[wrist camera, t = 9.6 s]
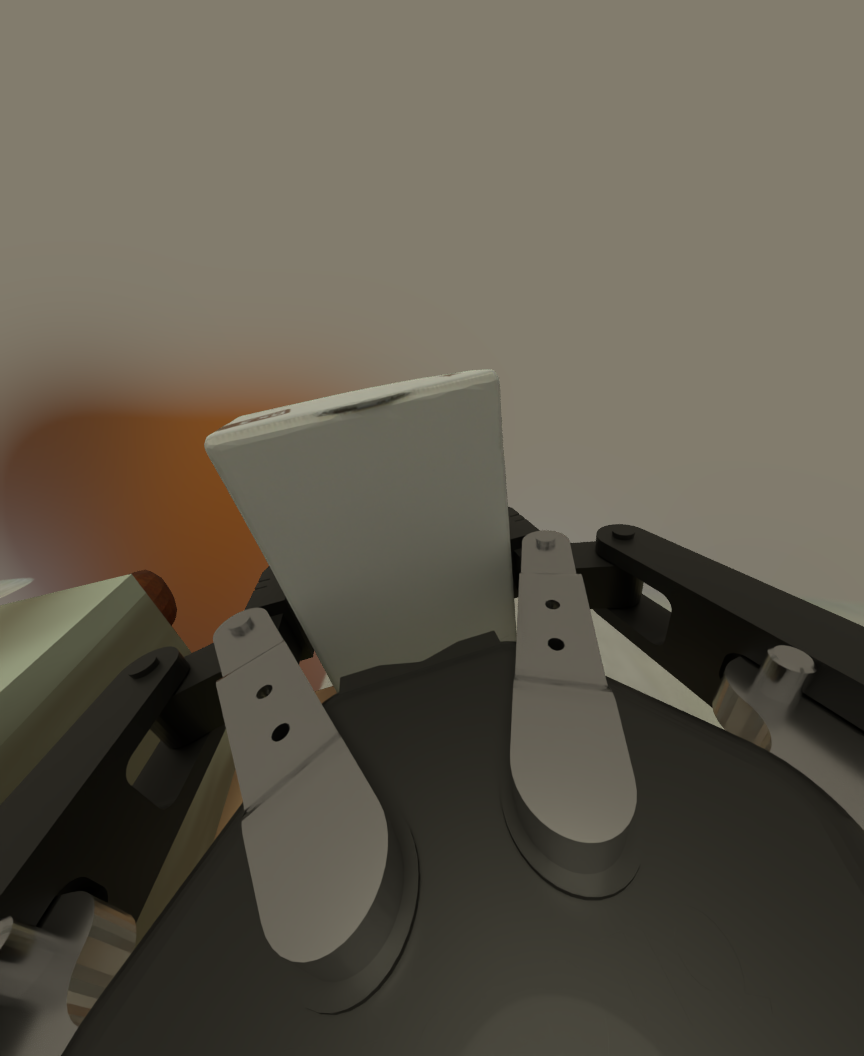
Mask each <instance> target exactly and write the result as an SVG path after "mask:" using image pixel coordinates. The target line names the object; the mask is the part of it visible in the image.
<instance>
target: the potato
mask: <svg viewBox="0 0 864 1056" xmlns="http://www.w3.org/2000/svg"><path fill="white" fill-rule="evenodd" d="M131 574H132V575H133V576H134V578H135V579H136V580H137V582H138V583H139V584H140V586H141V587H142V588H143V590H144V591H145V592H146V593H147V595H148V596H149V597H150V599H151V600H152V601H153V603H154V604H155V605H156V607H157V608H158V609H159V611H160V612H161V613H162V614H163V616H164V617H165V618H166V620H167V621H168V622H169V624H170V625H171V626H172V624H173V622H174V620H175V618H176V612H177V608H176V603H175V600H174V597H173V595H172V593H171V591H170V589H169V588H168V586H167V585H166V583H165V582H164V580H163V579H162V578H161V577H159V576H158V575H156V574H154V573H153V572H151V571H147V570H142V571H138V572H134V573H131ZM128 575H129V574H128Z"/></svg>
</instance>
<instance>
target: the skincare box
mask: <svg viewBox="0 0 864 1056" xmlns="http://www.w3.org/2000/svg"><path fill="white" fill-rule="evenodd" d="M502 438H503V436H502V418H501V403H500V384H499V378H498V376H497V374H496V372H495V371H493V370H471V371H466V372H460V373H454V374H446V375H440V376H433V377H428V378H420V379H414V380H409V381H404V382H398V383H393V384H388V385H382V386H378V387H372V388H367V389H362V390H357V391H352V392H348V393H342V394H338V395H333V396H329V397H324V398H320V399H315V400H311V401H306V402H302V403H297V404H293V405H289V406H284V407H280V408H275V409H271V410H266V411H262V412H258V413H253V414H249V415H244V416H240V417H238V418H236V419H235V420H234V421H232V422H231V423H229V424H227V425H225V426H223V427H222V428H220V429H218V430H217V431H216V432H214V433H212V434H211V435H209V436H207V438H206V441H205V444H204V446H205V450H206V452H207V454H208V456H209V458H210V460H211V461H212V463H213V465H214V466H215V468H216V470H217V472H218V474H219V475H220V477H221V479H222V481H223V482H224V484H225V486H226V488H227V490H228V491H229V493H230V495H231V497H232V499H233V500H234V502H235V504H236V506H237V508H238V509H239V511H240V513H241V514H242V517H243V518H244V520H245V522H246V524H247V526H248V528H249V529H250V531H251V533H252V535H253V537H254V538H255V540H256V542H257V544H258V545H259V547H260V549H261V551H262V553H263V555H264V557H265V558H266V560H267V562H268V564H269V566H270V568H271V570H272V572H273V574H274V575H275V577H276V579H277V581H278V583H279V585H280V587H281V589H282V590H283V592H284V594H285V596H286V598H287V600H288V602H289V604H290V606H291V607H292V609H293V611H294V613H295V615H296V617H297V619H298V621H299V622H300V624H301V626H302V628H303V630H304V632H305V634H306V635H307V637H308V639H309V641H310V643H311V645H312V647H313V649H314V651H315V652H316V654H317V656H318V658H319V660H320V662H321V663H322V666H323V668H324V669H325V671H326V673H327V675H328V677H329V679H330V681H331V682H332V684H333V686H334V688H335V690H336V692H337V693H338V692H339V688H340V677H343V676H346V675H349V674H353V673H356V672H359V671H362V670H366V669H369V668H372V667H376V666H379V665H389V664H400V663H412V662H420V661H423V660H425V659H427V658H429V657H431V656H433V655H434V654H436V653H438V652H440V651H442V650H443V649H445V648H447V647H449V646H450V645H452V644H454V643H456V642H458V641H461V640H464V639H467V638H470V637H474V636H477V635H480V634H483V633H487V632H490V631H493V630H494V631H495V633H496V635H497V636H498V638H499V640H500V641H516V642H517V633H516V621H515V605H514V590H513V575H512V559H511V545H510V530H509V516H508V502H507V489H506V476H505V475H506V474H505V461H504V451H503V439H502Z"/></svg>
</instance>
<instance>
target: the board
mask: <svg viewBox="0 0 864 1056" xmlns="http://www.w3.org/2000/svg"><path fill="white" fill-rule="evenodd" d="M169 646H172V647H175V648H177V649H178V650H179V652H180V653H181V654H182V656H183V657H185V656H187V655H189V654H191V652H190V650H189V649H188V647H187V646H186V645H185V643H184V642H183V641H182V640H181V638H180V637H179V636H178V634H177V633H176V632H175V630H174V629H173V628H172V626H171V625H170V624H169V622H168V621H167V620H166V618H165V617H164V616H163V614H162V613H161V612H160V611H159V609H158V608H157V607H156V605H155V604H154V603H153V601H152V600H151V599H150V597H149V596H148V595H147V593H146V592H145V591H144V590H143V588H142V587H141V586H140V584H139V583H138V582H137V580H136V579H135V578H134V576H133V575H132V574H129V575H125V576H121V577H117V578H113V579H109V580H104V581H100V582H97V583H92V584H88V585H84V586H80V587H75V588H71V589H67V590H63V591H59V592H55V593H50V594H47V595H42V596H38V597H34V598H30V599H26V600H21V601H17V602H13V603H9V604H5V605H1V606H0V805H1V804H2V803H3V802H4V801H5V799H6V798H7V797H8V796H9V795H10V794H11V793H12V792H13V791H14V789H15V788H16V787H17V786H18V785H19V784H20V783H21V782H22V781H23V779H24V778H25V777H26V776H27V775H28V774H29V773H30V772H31V771H32V769H33V768H34V767H35V766H36V765H37V764H38V763H39V762H40V761H41V760H42V758H43V757H44V756H45V755H46V754H47V753H48V752H49V751H50V750H51V748H52V747H53V746H54V745H55V744H56V743H57V742H58V741H59V740H60V738H61V737H62V736H63V735H64V734H65V733H66V732H67V731H68V730H69V728H70V727H71V726H72V725H73V724H74V723H75V722H76V721H77V720H78V718H79V717H80V716H81V715H82V714H83V713H84V712H85V711H86V710H87V709H88V707H89V706H90V705H91V704H92V703H93V702H94V701H95V700H96V699H97V697H98V696H99V695H100V694H101V693H102V692H103V691H104V690H105V689H106V687H107V686H108V685H109V684H110V683H111V682H112V681H113V680H114V679H115V677H116V676H117V675H118V674H119V673H120V672H121V671H122V670H123V669H125V668H126V667H127V666H128V665H129V664H131V663H132V662H134V661H135V660H137V659H138V658H140V657H141V656H143V655H145V654H147V653H149V652H151V651H154V650H156V649H159V648H163V647H169ZM336 693H337V692H336V690H335V688H334V686H331V687H328V688H325V689H322V690H318V691H315V694H316V695H317V697H318V699H319V701H320V702H321V704H322V703H323V702H324V701H325V700H327V699H328V698H330V697H331V696H333V695H334V694H336ZM159 742H160V739H159V738H158V737H157V736H156V735H155V734H154V733H153V732H152V731H151V730H150V729H149V731H148V732H147V734H146V735H145V737H144V738H143V740H142V741H141V743H140V744H139V745H138V747H137V748H136V750H135V751H134V753H133V754H132V756H131V758H130V760H129V762H128V765H127V769H126V778H127V781H128V783H129V784H130V785H131V786H132V785H133V784H134V782H135V780H136V779H137V777H138V776H139V774H140V772H141V771H142V769H143V768H144V766H145V764H146V763H147V761H148V760H149V758H150V756H151V755H152V753H153V752H154V750H155V748H156V747H157V745H158V744H159ZM242 802H243V800H242V795H241V791H240V787H239V782H238V778H237V773H236V769H235V765H234V760H233V756H232V752H231V747H230V743H229V739H228V734H227V730H225V732H224V734H223V736H222V738H221V741H220V743H219V745H218V747H217V749H216V751H215V754H214V756H213V758H212V760H211V762H210V764H209V766H208V769H207V771H206V773H205V775H204V777H203V779H202V782H201V784H200V786H199V788H198V790H197V792H196V795H195V797H194V799H193V801H192V803H191V805H190V808H189V810H188V812H187V814H186V816H185V818H184V821H183V823H182V825H181V827H180V829H179V831H178V834H177V836H176V838H175V840H174V842H173V844H172V847H171V849H170V851H169V853H168V855H167V857H166V860H165V862H164V864H163V866H162V868H161V870H160V873H159V875H158V877H157V879H156V881H155V883H154V886H153V888H152V890H151V892H150V894H149V896H148V899H147V901H146V903H145V905H144V907H143V909H142V911H141V914H140V916H139V918H138V920H137V922H136V932H137V934H136V942H135V947H134V949H135V948H136V946H137V945H138V943H139V942H140V941H141V939H142V938H143V937H144V935H145V934H146V933H147V931H148V930H149V929H150V927H151V926H152V924H153V923H154V922H155V920H156V919H157V918H158V916H159V915H160V914H161V912H162V911H163V910H164V908H165V907H166V905H167V904H168V903H169V901H170V900H171V899H172V897H173V896H174V895H175V893H176V892H177V891H178V889H179V888H180V886H181V885H182V884H183V882H184V881H185V880H186V878H187V877H188V876H189V874H190V873H191V872H192V870H193V869H194V867H195V866H196V865H197V863H198V862H199V861H200V859H201V858H202V857H203V855H204V854H205V853H206V851H207V850H208V848H209V847H210V846H211V844H212V843H213V842H214V840H215V839H216V838H217V836H218V835H219V834H220V832H221V831H222V829H223V828H224V827H225V825H226V824H227V823H228V821H229V820H230V819H231V817H232V816H233V815H234V813H235V812H236V810H237V809H238V808H239V806H240V805H241V804H242Z"/></svg>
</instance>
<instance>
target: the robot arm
mask: <svg viewBox="0 0 864 1056" xmlns="http://www.w3.org/2000/svg"><path fill="white" fill-rule="evenodd" d="M508 516H509V530H510V545H511V559H512V575H513V590H514V598H517V597H518V618H517V642H516V641H500V640H499V638H498V636H497V635H496V633H495V631H494V630H493V631H490V632H487V633H483V634H480V635H477V636H474V637H470V638H467V639H464V640H461V641H458V642H456V643H454V644H452V645H450V646H449V647H447V648H445V649H443V650H442V651H440V652H438V653H436V654H434V655H433V656H431V657H429V658H427V659H425V660H423V661H420V662H412V663H400V664H389V665H379V666H376V667H372V668H369V669H366V670H362V671H359V672H356V673H353V674H349V675H346V676H343V677H340V688H339V692H338V693H336V694H334V695H333V696H331V697H330V698H328V699H327V700H325V701H324V702H323V703H322V704H321V702H320V701H319V699H318V697H317V695H316V694H315V692H314V690H313V689H312V687H311V685H310V683H309V682H308V680H307V678H306V677H305V675H304V673H303V671H302V670H301V668H300V666H299V662H300V661H301V660H305V659H308V658H311V657H313V654H314V649H313V647H312V645H311V643H310V641H309V639H308V637H307V635H306V634H305V632H304V630H303V628H302V626H301V624H300V622H299V621H298V619H297V617H296V615H295V613H294V611H293V609H292V607H291V606H290V604H289V602H288V600H287V598H286V596H285V594H284V592H283V590H282V589H281V587H280V585H279V583H278V581H277V579H276V577H275V575H274V574H273V572H272V570H271V568H270V566H269V567H268V568H267V569H266V570H265V571H264V572H263V573H262V575H261V577H260V579H259V583H258V584H257V585H256V587H255V591H254V592H253V594H252V596H251V598H250V600H249V602H248V604H247V606H246V608H245V610H244V611H242V612H240V613H237V614H236V615H234V616H232V617H230V618H229V619H227V620H226V621H225V622H224V623H223V624H221V625H220V627H219V628H218V629H217V630H216V632H215V633H214V636H213V642H214V643H212V644H210V645H208V646H206V647H205V648H202V649H200V650H198V651H196V652H193V653H191V654H189V655H187V656H185V657H183V656H182V654H181V653H180V652H179V650H178V649H177V648H175V647H172V646H169V647H163V648H159V649H156V650H154V651H151V652H149V653H147V654H145V655H143V656H141V657H140V658H138V659H137V660H135V661H134V662H132V663H131V664H129V665H128V666H127V667H126V668H125V669H123V670H122V671H121V672H120V673H119V674H118V675H117V676H116V677H115V679H114V680H113V681H112V682H111V683H110V684H109V685H108V686H107V687H106V689H105V690H104V691H103V692H102V693H101V694H100V695H99V696H98V697H97V699H96V700H95V701H94V702H93V703H92V704H91V705H90V706H89V707H88V709H87V710H86V711H85V712H84V713H83V714H82V715H81V716H80V717H79V718H78V720H77V721H76V722H75V723H74V724H73V725H72V726H71V727H70V728H69V730H68V731H67V732H66V733H65V734H64V735H63V736H62V737H61V738H60V740H59V741H58V742H57V743H56V744H55V745H54V746H53V747H52V748H51V750H50V751H49V752H48V753H47V754H46V755H45V756H44V757H43V758H42V760H41V761H40V762H39V763H38V764H37V765H36V766H35V767H34V768H33V769H32V771H31V772H30V773H29V774H28V775H27V776H26V777H25V778H24V779H23V781H22V782H21V783H20V784H19V785H18V786H17V787H16V788H15V789H14V791H13V792H12V793H11V794H10V795H9V796H8V797H7V798H6V799H5V801H4V802H3V803H2V804H1V805H0V1056H864V627H863V626H861V625H859V624H856V623H854V622H852V621H850V620H847V619H845V618H843V617H841V616H838V615H836V614H834V613H832V612H829V611H827V610H825V609H822V608H820V607H818V606H816V605H813V604H811V603H809V602H807V601H804V600H802V599H800V598H797V597H795V596H793V595H791V594H788V593H786V592H784V591H782V590H779V589H777V588H775V587H772V586H770V585H768V584H766V583H763V582H761V581H759V580H757V579H754V578H752V577H750V576H748V575H745V574H743V573H741V572H738V571H736V570H734V569H731V568H729V567H727V566H725V565H723V564H720V563H718V562H716V561H713V560H711V559H709V558H707V557H704V556H702V555H700V554H698V553H695V552H693V551H691V550H689V549H686V548H684V547H682V546H680V545H677V544H675V543H673V542H670V541H668V540H666V539H663V538H661V537H659V536H657V535H655V534H652V533H650V532H648V531H645V530H643V529H641V528H638V527H635V526H630V525H623V524H616V525H608V526H604V527H602V528H600V529H599V530H598V531H597V535H596V541H595V542H581V543H570V541H569V539H568V538H567V537H566V536H565V535H563V534H561V533H559V532H555V531H540V530H538V529H537V528H536V527H535V526H533V525H532V524H531V523H530V522H529V521H528V520H526V519H525V518H524V517H523V516H521V515H519V513H518V512H517V511H515V510H514V509H513V508H510V507H508ZM644 582H645V583H646V584H648V585H649V586H651V587H653V588H654V589H656V590H658V591H659V592H661V593H662V594H663V595H665V597H666V598H667V599H668V600H669V602H670V604H671V607H672V612H670V611H668V610H667V609H665V608H663V607H662V606H660V605H659V604H657V603H656V602H654V601H652V600H651V599H649V598H648V597H646V596H645V595H643V594H642V589H643V583H644ZM590 609H593V610H594V611H595V612H596V613H597V614H598V615H599V616H601V617H602V618H603V619H604V620H606V621H607V622H608V623H609V624H610V625H612V626H613V627H614V628H615V629H617V630H618V631H619V632H620V633H621V634H623V635H624V636H625V637H626V638H628V639H629V640H630V641H631V642H632V643H634V644H635V645H636V646H637V647H639V648H640V649H641V650H642V651H643V652H645V653H646V654H647V655H648V656H650V657H651V658H652V659H653V660H654V661H656V662H657V663H658V664H659V665H661V666H662V667H663V668H664V669H665V670H667V671H668V672H669V673H670V674H672V675H673V676H674V677H675V678H677V679H678V680H679V681H680V682H681V683H683V684H684V685H685V686H686V687H688V688H689V689H690V690H691V691H692V692H694V693H695V694H696V695H697V696H699V697H700V698H701V699H702V700H703V701H705V702H706V703H707V704H708V705H710V706H711V707H712V708H713V712H714V714H715V716H716V718H717V720H718V721H719V723H720V724H721V725H722V727H723V728H724V729H725V730H723V729H721V728H719V727H717V726H715V725H712V724H710V723H708V722H706V721H704V720H701V719H699V718H697V717H695V716H693V715H690V714H688V713H686V712H684V711H682V710H679V709H677V708H675V707H673V706H670V705H668V704H666V703H664V702H662V701H660V700H657V699H655V698H653V697H651V696H649V695H646V694H644V693H642V692H640V691H638V690H635V689H633V688H631V687H629V686H627V685H624V684H622V683H620V682H618V681H616V680H613V679H611V678H609V677H607V676H605V673H604V668H603V664H602V660H601V655H600V651H599V647H598V642H597V638H596V634H595V629H594V625H593V621H592V616H591V612H590ZM149 729H150V730H151V731H152V732H153V733H154V734H155V735H156V736H157V737H158V738H159V739H160V742H159V744H158V745H157V747H156V748H155V750H154V752H153V753H152V755H151V756H150V758H149V760H148V761H147V763H146V764H145V766H144V768H143V769H142V771H141V772H140V774H139V776H138V777H137V779H136V780H135V782H134V784H133V785H132V786H131V785H130V784H129V783H128V781H127V778H126V769H127V765H128V762H129V760H130V758H131V756H132V754H133V753H134V751H135V750H136V748H137V747H138V745H139V744H140V743H141V741H142V740H143V738H144V737H145V735H146V734H147V732H148V731H149ZM225 730H227V734H228V739H229V743H230V747H231V752H232V756H233V760H234V765H235V769H236V773H237V778H238V782H239V787H240V791H241V795H242V800H243V802H242V804H241V805H240V806H239V808H238V809H237V810H236V812H235V813H234V815H233V816H232V817H231V819H230V820H229V821H228V823H227V824H226V825H225V827H224V828H223V829H222V831H221V832H220V834H219V835H218V836H217V838H216V839H215V840H214V842H213V843H212V844H211V846H210V847H209V848H208V850H207V851H206V853H205V854H204V855H203V857H202V858H201V859H200V861H199V862H198V863H197V865H196V866H195V867H194V869H193V870H192V872H191V873H190V874H189V876H188V877H187V878H186V880H185V881H184V882H183V884H182V885H181V886H180V888H179V889H178V891H177V892H176V893H175V895H174V896H173V897H172V899H171V900H170V901H169V903H168V904H167V905H166V907H165V908H164V910H163V911H162V912H161V914H160V915H159V916H158V918H157V919H156V920H155V922H154V923H153V924H152V926H151V927H150V929H149V930H148V931H147V933H146V934H145V935H144V937H143V938H142V939H141V941H140V942H139V943H138V945H137V946H136V948H135V949H134V947H135V942H136V934H137V932H136V922H137V920H138V918H139V916H140V914H141V911H142V909H143V907H144V905H145V903H146V901H147V899H148V896H149V894H150V892H151V890H152V888H153V886H154V883H155V881H156V879H157V877H158V875H159V873H160V870H161V868H162V866H163V864H164V862H165V860H166V857H167V855H168V853H169V851H170V849H171V847H172V844H173V842H174V840H175V838H176V836H177V834H178V831H179V829H180V827H181V825H182V823H183V821H184V818H185V816H186V814H187V812H188V810H189V808H190V805H191V803H192V801H193V799H194V797H195V795H196V792H197V790H198V788H199V786H200V784H201V782H202V779H203V777H204V775H205V773H206V771H207V769H208V766H209V764H210V762H211V760H212V758H213V756H214V754H215V751H216V749H217V747H218V745H219V743H220V741H221V738H222V736H223V734H224V732H225Z"/></svg>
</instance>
